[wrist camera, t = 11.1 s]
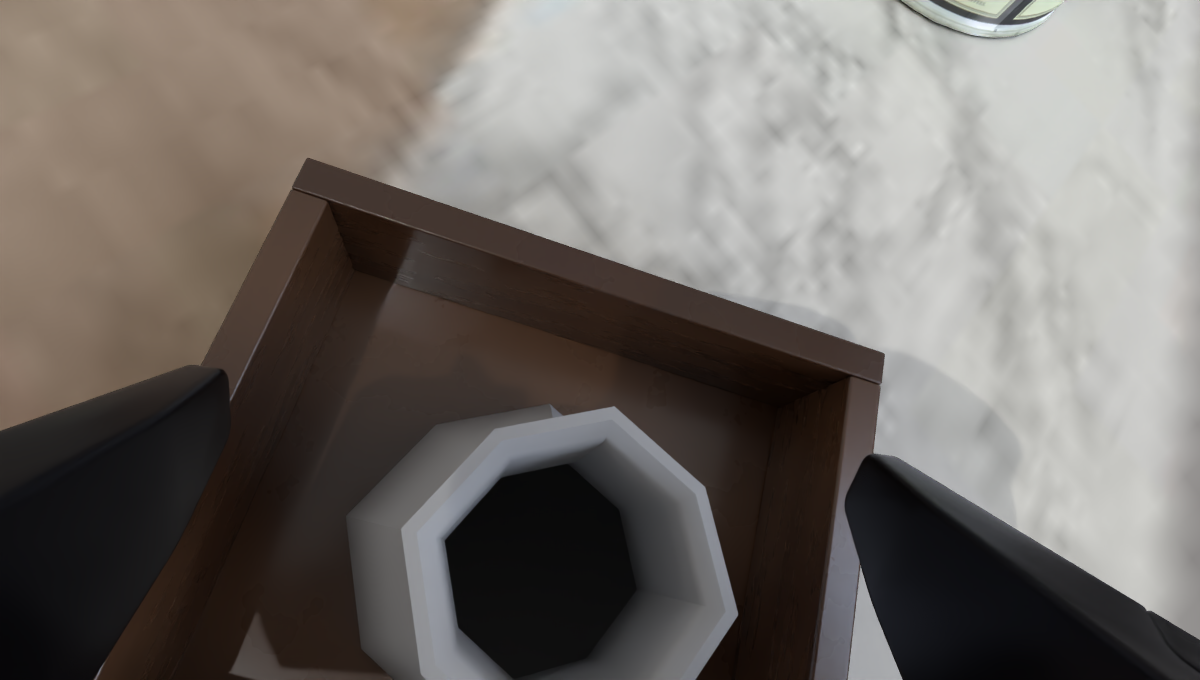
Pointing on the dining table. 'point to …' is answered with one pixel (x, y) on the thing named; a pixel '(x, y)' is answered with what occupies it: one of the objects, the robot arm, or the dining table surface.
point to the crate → (484, 387)
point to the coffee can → (987, 15)
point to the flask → (539, 555)
